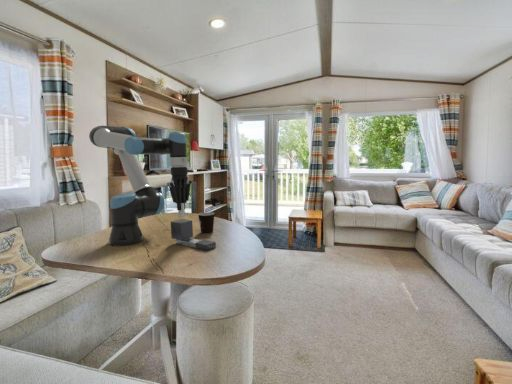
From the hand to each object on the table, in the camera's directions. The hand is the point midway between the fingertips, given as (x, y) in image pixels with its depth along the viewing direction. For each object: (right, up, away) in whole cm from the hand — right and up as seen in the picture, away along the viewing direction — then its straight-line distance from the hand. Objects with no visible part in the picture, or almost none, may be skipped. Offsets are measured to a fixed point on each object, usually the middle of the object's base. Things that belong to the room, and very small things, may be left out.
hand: (181, 216), depth 136 cm
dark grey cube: (0, -10, +1) cm, 10 cm away
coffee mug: (+8, -10, +22) cm, 26 cm away
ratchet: (+7, -13, -3) cm, 15 cm away
